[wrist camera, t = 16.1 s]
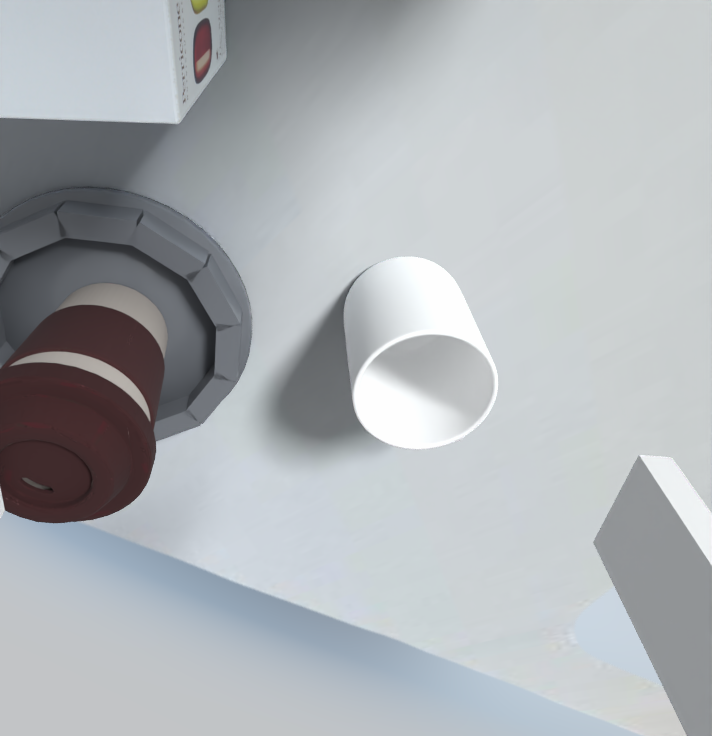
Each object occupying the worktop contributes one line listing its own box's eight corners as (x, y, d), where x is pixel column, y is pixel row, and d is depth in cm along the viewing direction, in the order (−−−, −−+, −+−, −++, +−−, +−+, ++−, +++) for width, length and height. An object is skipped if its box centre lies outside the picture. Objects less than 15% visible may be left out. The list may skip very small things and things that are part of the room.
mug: (392, 404, 51) (412, 502, 42) (320, 286, 45) (325, 371, 36) (493, 360, 49) (535, 452, 40) (432, 230, 43) (467, 305, 34)
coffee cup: (139, 239, 41) (69, 369, 28) (213, 358, 46) (181, 511, 34) (7, 293, 42) (-115, 440, 30) (94, 402, 48) (21, 565, 35)
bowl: (-55, 167, 39) (-80, 183, 36) (261, 207, 41) (259, 224, 39) (-7, 415, 49) (-24, 440, 46) (244, 433, 52) (241, 458, 49)
